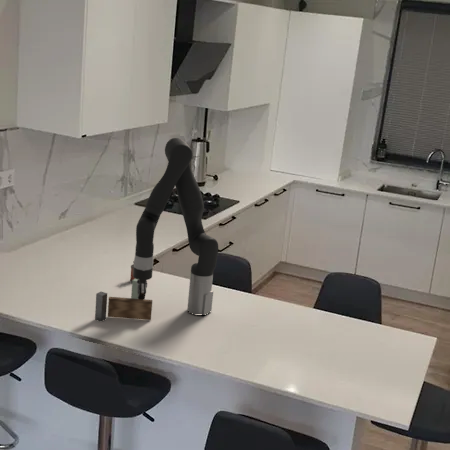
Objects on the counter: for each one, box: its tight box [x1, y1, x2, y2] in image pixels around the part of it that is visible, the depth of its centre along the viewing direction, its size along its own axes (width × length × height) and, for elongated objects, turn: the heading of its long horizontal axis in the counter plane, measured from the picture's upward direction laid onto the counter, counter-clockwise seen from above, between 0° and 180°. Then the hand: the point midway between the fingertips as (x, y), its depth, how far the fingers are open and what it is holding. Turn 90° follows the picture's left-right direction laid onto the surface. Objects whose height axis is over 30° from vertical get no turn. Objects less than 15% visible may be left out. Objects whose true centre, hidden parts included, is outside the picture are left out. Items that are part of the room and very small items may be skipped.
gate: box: [107, 296, 153, 321], centre depth 274 cm, size 17×2×8 cm, turn 93°
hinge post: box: [94, 291, 108, 322], centre depth 270 cm, size 3×3×11 cm
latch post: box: [130, 279, 138, 299], centre depth 291 cm, size 3×3×10 cm
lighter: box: [129, 260, 136, 283], centre depth 316 cm, size 8×3×10 cm, turn 143°
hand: (140, 306), depth 278 cm, fingers closed
